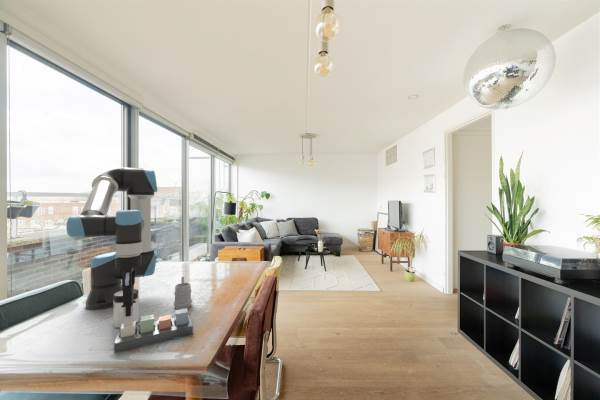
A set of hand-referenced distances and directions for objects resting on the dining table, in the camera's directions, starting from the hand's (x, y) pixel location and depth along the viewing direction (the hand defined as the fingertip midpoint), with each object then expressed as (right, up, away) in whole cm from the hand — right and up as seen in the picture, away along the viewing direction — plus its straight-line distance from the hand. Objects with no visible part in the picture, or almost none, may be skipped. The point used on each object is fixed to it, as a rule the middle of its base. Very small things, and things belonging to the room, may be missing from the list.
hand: (128, 324), depth 87 cm
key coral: (+10, -5, +5) cm, 12 cm away
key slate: (+14, -4, +8) cm, 17 cm away
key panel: (+7, -6, +4) cm, 10 cm away
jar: (-10, -6, +14) cm, 19 cm away
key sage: (+5, -4, +3) cm, 7 cm away
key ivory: (0, -5, 0) cm, 5 cm away
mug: (+4, -7, +32) cm, 33 cm away
